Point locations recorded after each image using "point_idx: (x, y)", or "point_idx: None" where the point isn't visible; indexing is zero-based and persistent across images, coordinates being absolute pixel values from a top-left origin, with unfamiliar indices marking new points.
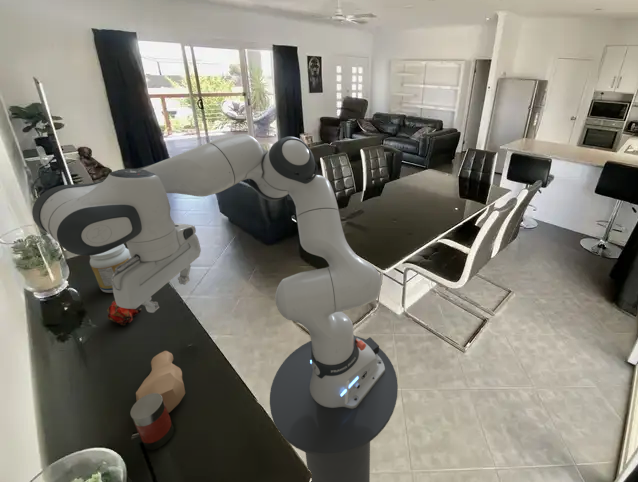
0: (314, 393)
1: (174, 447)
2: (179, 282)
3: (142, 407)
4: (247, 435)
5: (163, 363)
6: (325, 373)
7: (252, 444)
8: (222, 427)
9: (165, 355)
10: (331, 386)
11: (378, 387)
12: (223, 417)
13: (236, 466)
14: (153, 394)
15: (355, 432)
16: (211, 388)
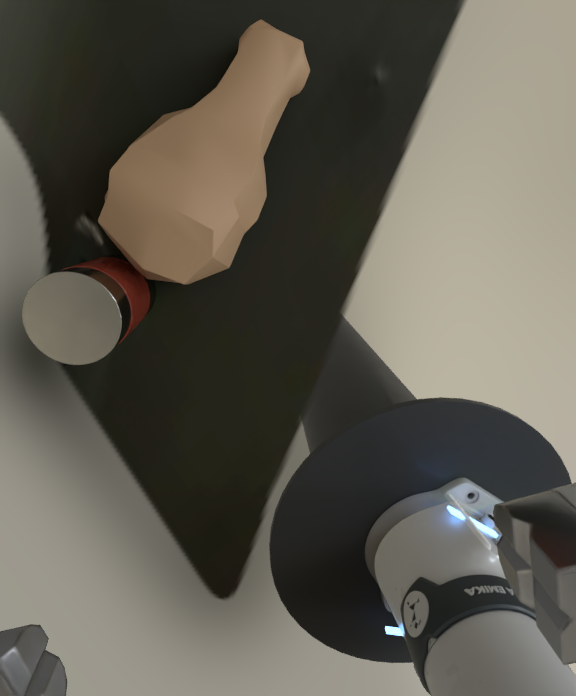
0: (379, 538)
1: (124, 352)
2: (507, 516)
3: (60, 313)
4: (230, 478)
5: (251, 113)
6: (408, 646)
7: (221, 500)
8: (216, 415)
9: (285, 71)
10: (396, 613)
11: None
12: (235, 398)
13: (171, 503)
14: (108, 300)
15: (340, 627)
16: (281, 302)
